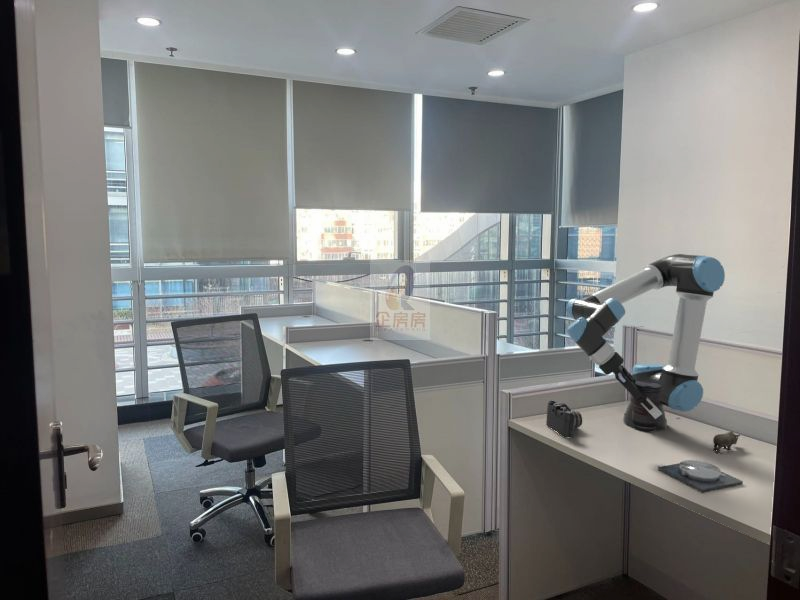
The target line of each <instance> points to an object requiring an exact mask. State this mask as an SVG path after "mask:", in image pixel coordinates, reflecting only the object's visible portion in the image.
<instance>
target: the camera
mask: <svg viewBox="0 0 800 600" xmlns="http://www.w3.org/2000/svg"><path fill="white" fill-rule="evenodd" d="M545 422H546V426H547V427H548V428H549V427H550V429H551V428H552V429H553V431H554V430H555V431H557V432H558V433H559V434H558V433H557V432H556V433H557V434H558V435H560V434H561V435H562V436H561V435H560V436H561V437H563V436H564V437H563V438H565V437H572V438H573V437H574V429H578V428H580V427H581V426H582V424H583V417H582V414H581V412H579V411H577V410H575V409H574V410H571V408H570V407H569V406H568V405H567V404H566V403H565V402H562V403H559V402H557V401H556V400H554V399H551V400H549V401H548V403H547V410H546V421H545ZM552 429H551V430H552ZM555 431H554V432H555Z"/></svg>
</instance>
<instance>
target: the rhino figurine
mask: <svg viewBox="0 0 800 600" xmlns="http://www.w3.org/2000/svg"><path fill="white" fill-rule="evenodd" d="M740 436H741V434H735V433H734V431H728V432H725V433H721V434H720V433H718V434H715V435H714V436H713V438H712V439H713V441H712V442H713V448H712V450H713V451H714V450H715V451H714V452H715V453H716V454H718V453H721V454H722V452H721V449H726V450H727V451H729V450H731V451H732V448H731V447H732V446H733V445H737V444H738V440H739V437H740ZM722 447H724V448H722ZM726 447H727V448H726ZM716 450H717V451H716Z"/></svg>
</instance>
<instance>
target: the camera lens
mask: <svg viewBox="0 0 800 600" xmlns="http://www.w3.org/2000/svg"><path fill="white" fill-rule="evenodd" d="M635 385H636V386H637V387H638V388H639V390H640V391H641V392H642V393H643V394H644V395H645V396H646V397H647V398H648V399H649V400H650V401H651V402H652V403H653V404H654V405H655V406H656V407H657V408H658V409H659V403H660V399H661V386H660V385H659V384H657V383H653V382H647V381H637V382H635ZM640 398H641V397H640ZM640 398H639V399H640ZM633 399H634V400H633V411H632V423H633V427H632V428H633V429H634V430H635V431H638V432H642V433H654V432H655V430H656V427H657V425H658V419H659V417H657V418H656V419H655V418H654V417H653V416H652V415H651V414H650V413H649V412H648V411H647V410H646V409H645V408H644V407H643V405H642V404H639V405H638V404H637V403H638V401H637V400H636V399H635V398H634V397H633Z"/></svg>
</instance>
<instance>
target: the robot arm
mask: <svg viewBox="0 0 800 600" xmlns="http://www.w3.org/2000/svg"><path fill="white" fill-rule="evenodd" d="M725 277H726V274H725V268H724V267H723V265H722V264H721V262H720V261H719V260H718V259H717V258H715V257H712V256H706V255H696V254H695V255H694V254H681V253H676V254H672V255H668V256H665V257H663V258H660V259H657V260H655V261H654V262H651V263H648V264H647V265H644V267H643V268H642V270H641V271H638V272H636V273H634V274H632V275H630V276H627V277H626V278H624V279H622V280H620V281H617V282H616V283H613V284H610V285H609V286H607V287H604V288H602V289H601V290H599V291H596V292H594V293H592V294H589V295H587V296H586V297H584V298H575V297H574V298H572V299H570V300H568V302H567V304H566V307H565V311H566V314H567V316H568V317H569V318H570V319H573V320H575V321H573V322H572V323H571V324H570V325H569V326H568V327H567V329H566V333H567V335H568V337H570V339H572V341H573V342H574V343H575V344H576V345H577V346H578V347H579V348H580V349H581V350H582V351H583V352H584V353H585V354H586V355H587V356H588V357H589V361H590V362H594V364H595V365H597V366H598V368H599V370H601V372H602V373H603V374H604V375H611V374H612V373H613V374H614V377H615V379H616V380H617V381H618V382H619V383H620V384H621V385H622V386H623V388H624V389H626V391H627V392H628V393H629V394H630V395H629V396H630V397H629V403H628V405H627V407H626V411H625V413H623V420H622V421H623V423H624V424H625V425H627V426H629V427H631V428H633V423H632V411H633V400H634V399H633V397H634V398H635V399H636V400H637V401H638V403H637V404H638V405H639V404H642V405H643V407H644V408H645V409H646V410H647V411H648V412H649V413H650V414H651V415H652V416H653V417H654V418H655V419H656V418H657V417H659V419H658V425H657V427H656V430H655V431H656V432H657V431H658V432H659V431H663V430H664V431H665V430H666V429H667V426H668V420H667V418H666V413H665V408H664V406H666V407H668V408H670V409H672V410H674V411H678V412H681V413H682V412H683V413H684V412H685V413H686V412H690V411H692V410H693V409H695V408H696V407H698V405H699V404H700V403H701V402H702V400H703V397H704V388H703V386H702V384H701V383H700V382H699V381H698V380H699V373H698V372H697V371H696V363H697V357H698V354H699V352H698V351H699V346H700V342H701V336H702V331H703V325H704V319H705V314H706V308H707V303H708V301H709V300H711V299H712V298H713V297H714V294H715V292H716V291H719V290H720V289H721V287H723V285H724V281H725ZM664 287H665V288H666V287H676V289H675V293H676V294H677V295H678V296H679V300H678V306H677V311H676V317H675V322H674V328H673V334H672V339H671V343H670V344H671V345H670V351H669V355H668V361H667V364H666V365H665V364H659V363H637V364H635V365H633V367H632V371H631V373H630V372H629V371H628V369H627V368H626V367H625V366H624V365H623V364H624V361H625V360H624V358H623V357H622V356H621V355H620V354H619V353H618V352H617V351H615V348H614V347H613V346H612V345H611V344H610V343H609V342H608V341H607V340H606V339H605V338H604V336H605V335H606V334H607V333H608V332H609V331H610V330H611V329H612V328H614V326H615V325H617V324H618V323H619V322H620V320H621V319H622V318H623V317H624V315H625V314H626V310H625V307H624V306H623V304H624V303H626V302H628V301H630V300H632V299H635V298H636V297H639V296H641V295H643V294H645V293H647V292H649V291H651V290H660V289H662V288H664ZM637 381H647V382H653V383H657V384H659V385H660V386H661V399H660V403H659V409H658V408H657V407H656V406H655V405H654V404H653V403H652V402H651V401H650V400H649V399H648V398H647V397H646V396H645V395H644V394H643V393H642V392H641V391H640V390H639V388H638V387H637V386H636V385H635V382H637ZM640 397H641V398H640ZM639 398H640V399H639ZM665 428H666V429H665ZM655 431H654V432H655Z"/></svg>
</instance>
